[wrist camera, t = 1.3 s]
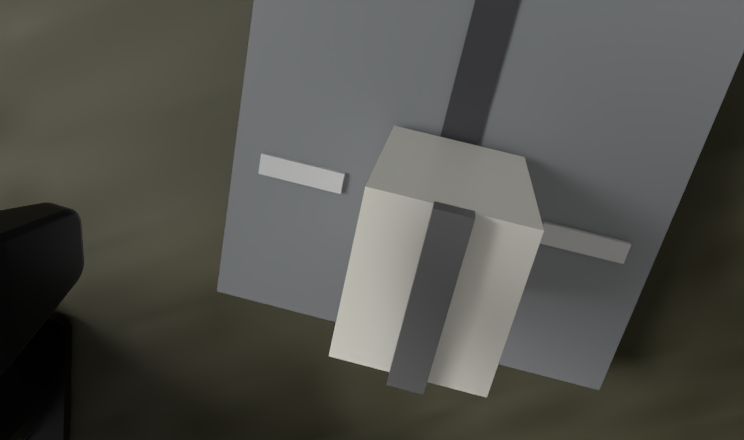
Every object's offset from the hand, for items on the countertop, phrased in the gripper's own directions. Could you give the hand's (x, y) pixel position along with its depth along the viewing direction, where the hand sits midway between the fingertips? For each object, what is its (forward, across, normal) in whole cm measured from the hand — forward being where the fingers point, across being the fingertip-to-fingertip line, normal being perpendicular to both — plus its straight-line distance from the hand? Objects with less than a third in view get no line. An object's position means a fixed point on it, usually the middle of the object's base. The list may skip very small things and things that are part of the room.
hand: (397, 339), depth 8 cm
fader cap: (+10, +1, +3) cm, 10 cm away
